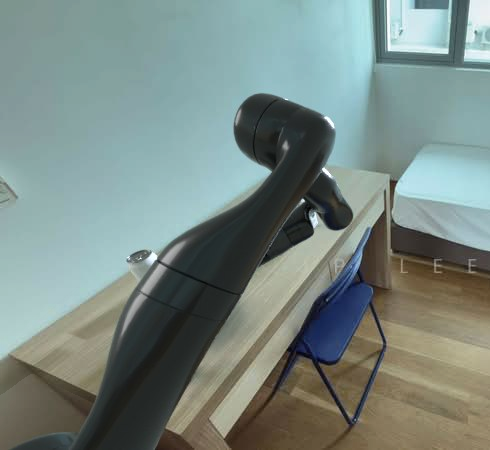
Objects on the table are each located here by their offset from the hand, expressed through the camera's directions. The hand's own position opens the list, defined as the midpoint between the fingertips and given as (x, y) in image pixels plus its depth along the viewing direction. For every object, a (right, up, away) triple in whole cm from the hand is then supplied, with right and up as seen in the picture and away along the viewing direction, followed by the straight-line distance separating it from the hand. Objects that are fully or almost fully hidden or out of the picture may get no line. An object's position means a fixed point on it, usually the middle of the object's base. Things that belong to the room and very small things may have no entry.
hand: (180, 286), depth 57 cm
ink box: (+7, +11, +54) cm, 55 cm away
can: (-27, -7, +31) cm, 42 cm away
